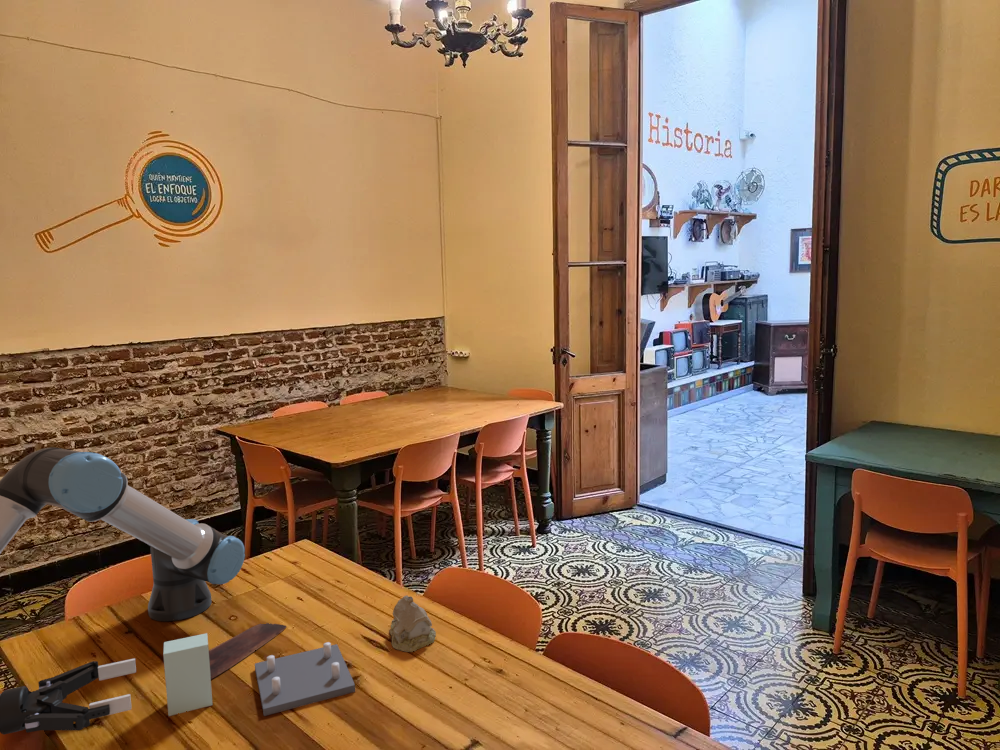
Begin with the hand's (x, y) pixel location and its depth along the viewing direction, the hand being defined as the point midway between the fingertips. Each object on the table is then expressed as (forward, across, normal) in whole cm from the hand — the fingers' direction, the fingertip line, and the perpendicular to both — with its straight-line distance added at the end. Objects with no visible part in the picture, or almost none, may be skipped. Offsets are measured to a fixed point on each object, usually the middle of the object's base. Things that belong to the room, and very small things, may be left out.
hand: (133, 682), depth 131 cm
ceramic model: (+58, -6, -8) cm, 59 cm away
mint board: (+10, 0, -7) cm, 12 cm away
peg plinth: (+32, +2, -7) cm, 33 cm away
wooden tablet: (+20, -18, -8) cm, 28 cm away
